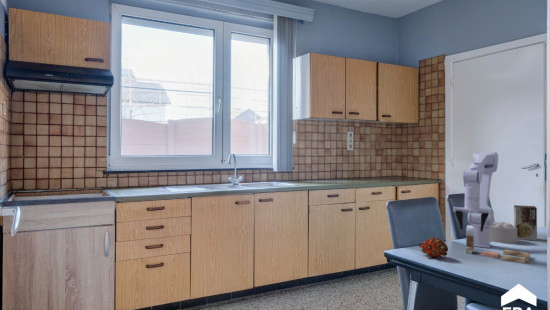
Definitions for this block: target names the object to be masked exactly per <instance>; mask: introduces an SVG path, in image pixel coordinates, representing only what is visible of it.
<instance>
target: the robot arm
mask: <svg viewBox="0 0 550 310" xmlns="http://www.w3.org/2000/svg"><path fill="white" fill-rule="evenodd" d="M472 162H473V163H471V164H470V166H469V168H468V169H466V170H464V171H463V174H462V175H463V176H462V179H463V180H462V181H463V188H464V207H461V206H460V207H459V206H453V207H452V212H454V213H455V216H456V218H457V221H458V223H459V228H460V230H463V229H464V213H466V214H467V222H468V225H467V226H466V232H465V235H466V236H467V235H471V236H474V247H478V248H479V247H480V248H486V249H489V248H491V247H492V243H490V241H489V239H490V226H492V225H493V223H494V222H495V217H494V216H495V215H494V210H493V208H492V207H490V206H489V199H490V191H491V184H492V176H493V173H496V172H497V170H498V167H499V165H498V164H499V154H498V152H497V151H494V152H492V151H491V152H489V151H481V152H480V151H475V152H474V153H473V155H472ZM466 236H465V237H466Z"/></svg>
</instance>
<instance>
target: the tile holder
mask: <svg viewBox="0 0 550 310" xmlns="http://www.w3.org/2000/svg"><path fill="white" fill-rule="evenodd" d="M502 252H503V253H502V254H501V255H500V260H501V261H508V262H515V263H520V264H521V263H523V264H529V263H530V252H523V251H516V250H515V251H514V250H509V249H503V251H502Z"/></svg>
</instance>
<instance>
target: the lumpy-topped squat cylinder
mask: <svg viewBox="0 0 550 310" xmlns="http://www.w3.org/2000/svg"><path fill="white" fill-rule="evenodd" d="M489 242H492V243H499V244H517V243H518V239H517V227H515V226H514V224H511V223H509V222H508V223H507V222H504V221H499V222H498V221H494V223H493V225H492V226H490V239H489Z"/></svg>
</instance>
